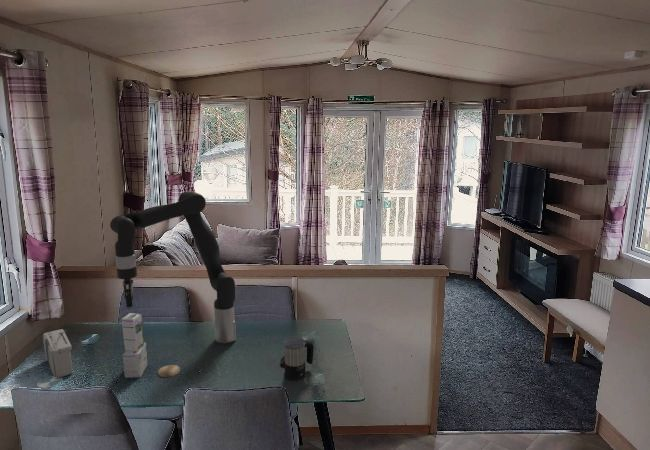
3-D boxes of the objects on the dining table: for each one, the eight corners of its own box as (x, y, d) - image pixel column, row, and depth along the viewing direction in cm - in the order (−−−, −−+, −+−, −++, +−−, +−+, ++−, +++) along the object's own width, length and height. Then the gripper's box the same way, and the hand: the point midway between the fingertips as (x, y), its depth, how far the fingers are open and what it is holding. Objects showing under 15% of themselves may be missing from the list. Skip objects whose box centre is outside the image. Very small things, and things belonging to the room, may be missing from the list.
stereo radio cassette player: (45, 360, 214) (39, 318, 209) (66, 354, 219) (60, 313, 214) (53, 381, 198) (47, 336, 193) (75, 374, 203) (70, 330, 198)
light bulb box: (132, 364, 211) (130, 342, 208) (148, 364, 211) (146, 341, 209) (124, 378, 201) (121, 354, 198) (140, 377, 201) (138, 354, 199)
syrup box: (137, 351, 200) (134, 319, 197) (124, 350, 201) (121, 318, 198) (144, 345, 206) (142, 313, 202) (132, 344, 207) (129, 312, 203)
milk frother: (297, 383, 198) (297, 350, 194) (267, 372, 206) (266, 340, 203) (316, 368, 210) (316, 336, 206) (287, 358, 218) (287, 327, 214)
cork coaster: (179, 364, 211) (179, 363, 211) (180, 375, 203) (180, 374, 203) (157, 368, 208) (157, 367, 208) (158, 378, 200) (158, 377, 200)
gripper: (136, 269, 189) (139, 308, 193) (136, 259, 202) (139, 295, 206) (115, 271, 187) (119, 310, 191) (117, 261, 200) (120, 297, 204)
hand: (129, 303), depth 199 cm, fingers open, 8 cm apart
